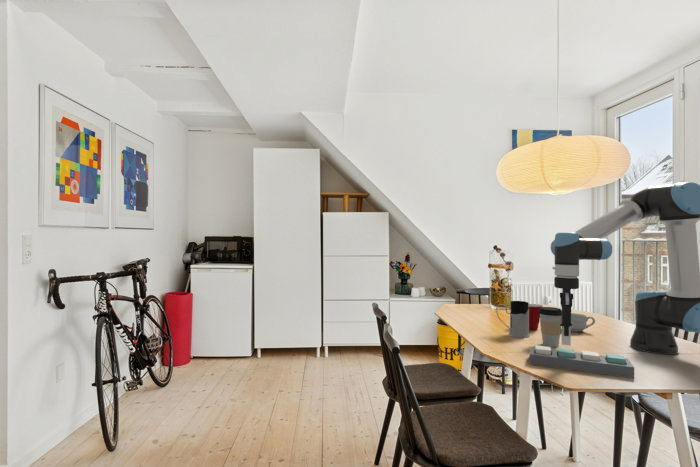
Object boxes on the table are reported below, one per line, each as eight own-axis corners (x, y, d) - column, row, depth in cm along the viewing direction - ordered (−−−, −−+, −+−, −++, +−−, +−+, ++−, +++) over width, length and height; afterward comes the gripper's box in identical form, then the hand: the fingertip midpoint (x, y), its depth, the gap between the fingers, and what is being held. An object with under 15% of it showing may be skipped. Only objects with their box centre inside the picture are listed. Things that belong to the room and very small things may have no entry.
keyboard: (628, 368, 133) (628, 358, 133) (634, 378, 124) (634, 367, 124) (530, 356, 146) (530, 347, 146) (529, 364, 137) (529, 354, 137)
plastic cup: (534, 326, 197) (534, 302, 197) (548, 331, 186) (548, 305, 186) (514, 326, 195) (514, 302, 195) (526, 331, 184) (527, 306, 185)
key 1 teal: (623, 362, 131) (623, 355, 131) (625, 366, 127) (625, 359, 127) (606, 360, 134) (606, 353, 134) (608, 364, 129) (608, 357, 129)
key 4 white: (550, 353, 141) (550, 347, 141) (550, 357, 137) (550, 350, 137) (535, 351, 143) (535, 345, 143) (535, 355, 139) (535, 348, 139)
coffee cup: (566, 349, 156) (566, 311, 156) (541, 347, 158) (541, 310, 158) (559, 342, 166) (559, 307, 166) (535, 341, 167) (535, 306, 168)
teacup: (557, 330, 187) (557, 313, 188) (565, 327, 195) (565, 310, 195) (590, 336, 178) (590, 318, 178) (597, 332, 185) (597, 315, 185)
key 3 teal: (573, 356, 138) (573, 349, 138) (574, 360, 133) (574, 353, 133) (558, 354, 140) (558, 347, 140) (558, 358, 136) (558, 351, 136)
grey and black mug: (531, 338, 172) (531, 304, 172) (497, 336, 176) (497, 302, 176) (528, 333, 181) (528, 301, 181) (495, 331, 184) (495, 299, 185)
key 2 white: (597, 359, 135) (597, 352, 135) (599, 363, 130) (599, 356, 130) (581, 357, 137) (581, 350, 137) (582, 361, 132) (582, 354, 132)
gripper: (553, 274, 144) (553, 339, 144) (554, 277, 133) (554, 347, 132) (577, 275, 141) (576, 341, 141) (580, 279, 129) (580, 350, 129)
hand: (566, 344), depth 137 cm, fingers closed
